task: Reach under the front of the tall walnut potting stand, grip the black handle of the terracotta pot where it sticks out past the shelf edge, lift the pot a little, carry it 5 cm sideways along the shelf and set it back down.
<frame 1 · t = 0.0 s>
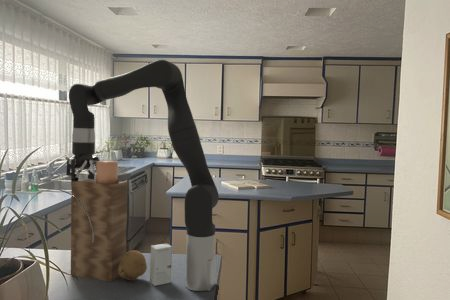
hand: (83, 186, 125), 29 cm above the countertop, tool pointing down, fingers open, 8 cm apart
handled pot: (106, 182, 119), point 32 cm above the countertop, touching potting stand
natural sponge: (133, 280, 117), on the countertop
skincare box: (160, 282, 116), on the countertop
potting stand: (98, 273, 121), on the countertop
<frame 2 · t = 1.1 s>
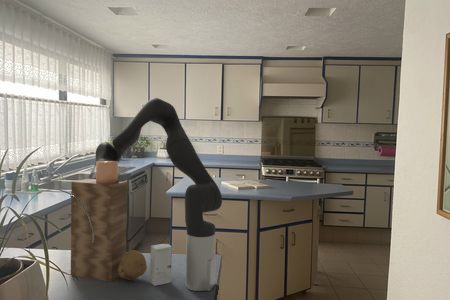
hand: (87, 208, 122), 22 cm above the countertop, tool tilted 55°, fingers open, 8 cm apart
nothing on the countertop moved.
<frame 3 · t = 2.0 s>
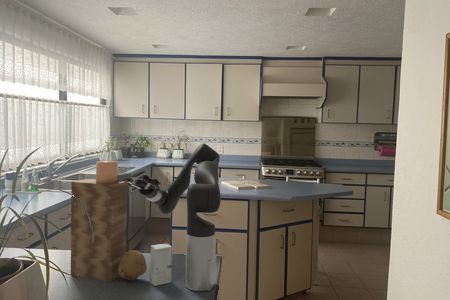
hand: (134, 176, 136), 32 cm above the countertop, tool pointing upward, fingers open, 8 cm apart
nothing on the countertop moved.
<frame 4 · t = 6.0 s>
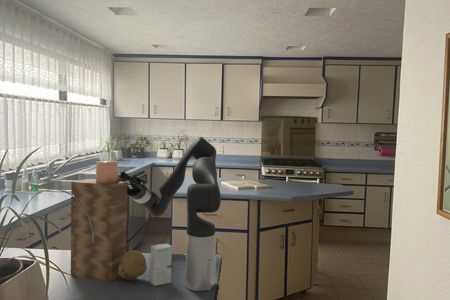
hand: (117, 173, 124), 34 cm above the countertop, tool pointing upward, fingers closed on handled pot, 3 cm apart
handled pot: (106, 182, 119), point 32 cm above the countertop, touching gripper, potting stand
everything else where it was.
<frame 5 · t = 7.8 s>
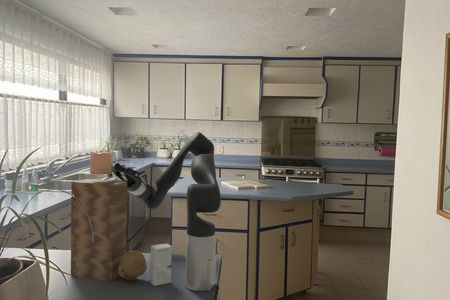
hand: (111, 164, 125), 37 cm above the countertop, tool pointing upward, fingers closed on handled pot, 3 cm apart
handled pot: (101, 173, 119), point 35 cm above the countertop, touching gripper
everything else where it was.
when the fingers open (35 cm above the countertop, at t = 9.4 s): handled pot stays where it is, resting on potting stand.
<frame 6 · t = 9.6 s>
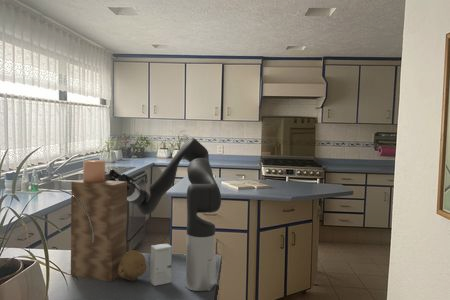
hand: (105, 171, 126), 35 cm above the countertop, tool pointing upward, fingers open, 4 cm apart
handled pot: (94, 181, 120), point 32 cm above the countertop, touching potting stand
everything else where it was.
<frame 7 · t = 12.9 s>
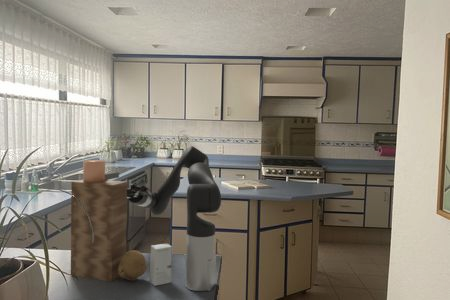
hand: (121, 188, 136), 27 cm above the countertop, tool pointing upward, fingers open, 8 cm apart
nothing on the countertop moved.
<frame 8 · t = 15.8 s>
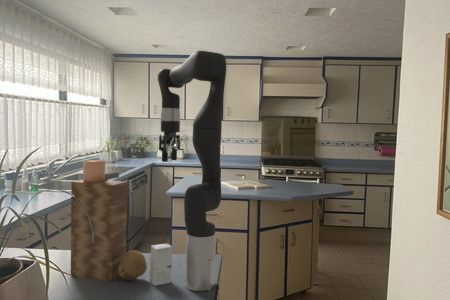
hand: (169, 160, 140), 38 cm above the countertop, tool pointing down, fingers open, 8 cm apart
nothing on the countertop moved.
at the end: handled pot 0.2 cm from the target spot, point 32.0 cm above the countertop; handled pot tilted 0°; the gripper is holding nothing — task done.
